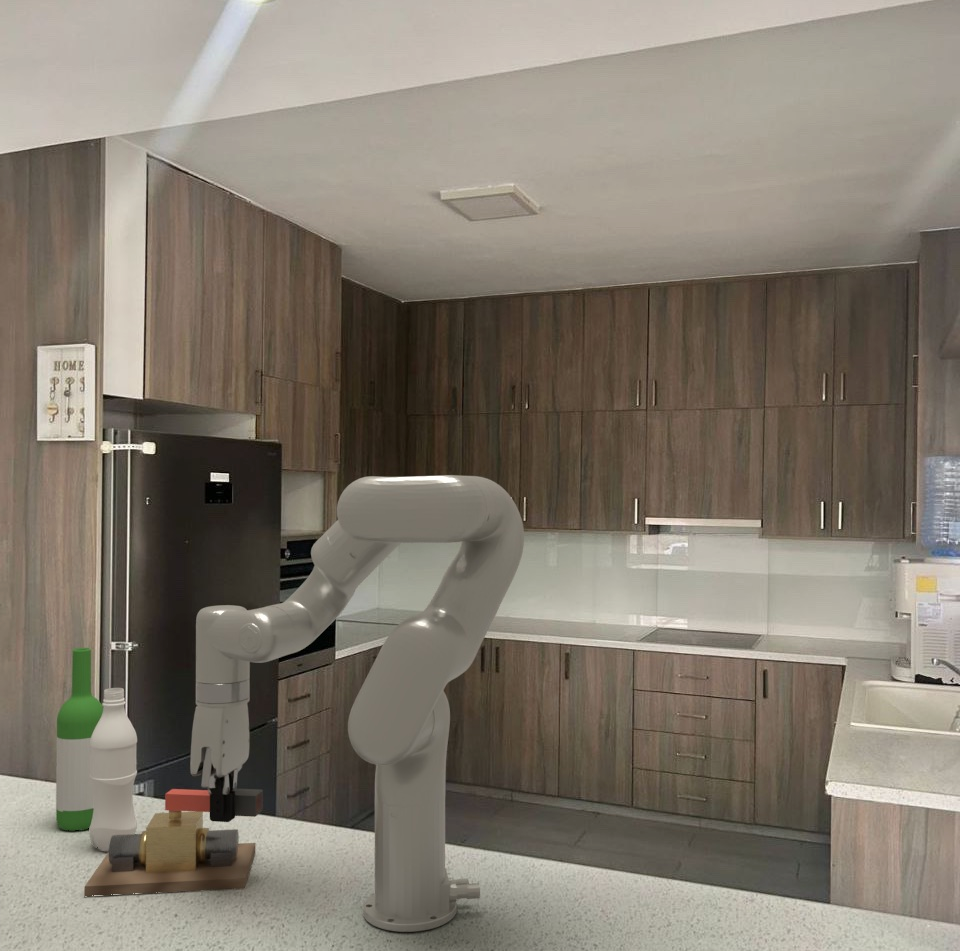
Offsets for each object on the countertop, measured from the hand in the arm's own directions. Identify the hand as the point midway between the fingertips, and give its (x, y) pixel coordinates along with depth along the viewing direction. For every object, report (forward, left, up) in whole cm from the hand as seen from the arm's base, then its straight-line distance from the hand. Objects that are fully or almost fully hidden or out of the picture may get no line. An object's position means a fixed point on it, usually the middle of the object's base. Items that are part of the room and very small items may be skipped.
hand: (222, 819), depth 137 cm
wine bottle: (+28, -30, -10) cm, 42 cm away
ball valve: (+8, -6, -8) cm, 13 cm away
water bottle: (+20, -19, -10) cm, 29 cm away
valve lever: (+2, -4, -1) cm, 5 cm away
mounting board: (+8, -6, -10) cm, 14 cm away
